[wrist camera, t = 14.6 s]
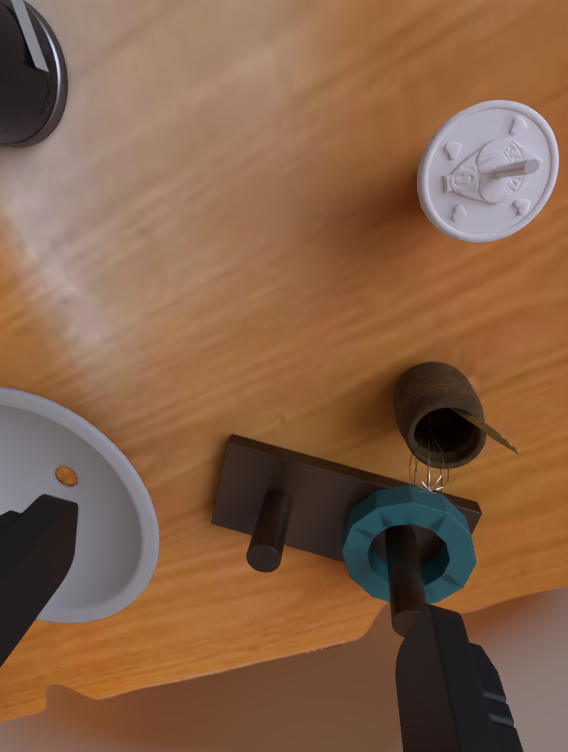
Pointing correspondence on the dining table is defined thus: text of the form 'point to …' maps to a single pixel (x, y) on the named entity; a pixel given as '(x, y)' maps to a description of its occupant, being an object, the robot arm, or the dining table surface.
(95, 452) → the vessel sink basin
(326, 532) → the rack
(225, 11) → the dining table surface
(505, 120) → the smoothie
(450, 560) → the teal faceted ring
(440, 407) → the utensil holder
